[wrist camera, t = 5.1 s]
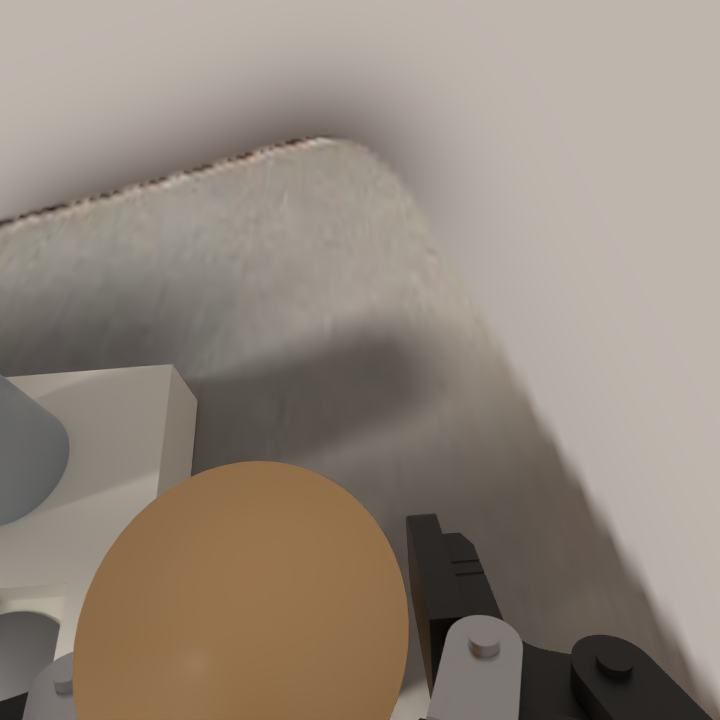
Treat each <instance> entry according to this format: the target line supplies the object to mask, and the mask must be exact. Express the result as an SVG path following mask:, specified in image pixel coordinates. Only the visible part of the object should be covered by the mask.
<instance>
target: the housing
mask: <svg viewBox="0 0 720 720" xmlns="http://www.w3.org/2000/svg"><path fill="white" fill-rule="evenodd" d="M197 403H198V401H197V399H196V398H195V396H194V395H193V393H192V392H191V390H190V389H189V388H188V386H187V385H186V383H185V382H184V380H183V379H182V377H181V376H180V374H179V373H178V371H177V370H176V369H175V367H174V366H173V364H166V365H153V366H141V367H128V368H115V369H103V370H90V371H78V372H65V373H52V374H40V375H27V376H15V377H3V376H2V375H1V374H0V701H2V700H5V699H8V698H11V697H14V696H17V695H20V694H23V693H26V692H28V691H29V689H30V686H31V684H32V683H33V681H34V679H35V678H36V677H37V675H38V674H39V673H40V672H41V671H42V670H43V669H44V668H46V667H47V666H48V665H49V664H51V663H52V662H53V661H55V660H56V659H58V658H60V657H62V656H64V655H66V654H68V653H70V652H73V648H74V640H75V635H76V630H77V624H78V619H79V616H80V613H81V609H82V606H83V603H84V600H85V596H86V594H87V591H88V589H89V587H90V584H91V582H92V580H93V577H94V575H95V573H96V571H97V569H98V568H99V566H100V564H101V562H102V560H103V559H104V557H105V555H106V553H107V552H108V550H109V549H110V547H111V546H112V545H113V543H114V542H115V540H116V539H117V538H118V536H119V535H120V533H121V532H122V531H123V530H124V529H125V528H126V527H127V525H128V524H129V523H130V522H131V521H132V520H133V519H134V517H135V516H137V515H138V514H139V513H140V512H141V511H142V510H143V509H144V508H145V507H146V506H147V505H148V504H150V503H151V502H152V501H153V500H155V499H156V498H157V497H159V496H160V495H161V494H163V493H164V492H165V491H167V490H168V489H170V488H172V487H173V486H175V485H177V484H178V483H180V482H182V481H183V480H185V479H187V478H190V477H191V471H192V459H193V448H194V437H195V425H196V414H197Z"/></svg>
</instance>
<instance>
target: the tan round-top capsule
mask: <svg viewBox="0 0 720 720" xmlns="http://www.w3.org/2000/svg"><path fill="white" fill-rule="evenodd" d="M408 640H409V617H408V606H407V597H406V592H405V588H404V583H403V578H402V574H401V572H400V569H399V566H398V563H397V560H396V557H395V554H394V552H393V550H392V548H391V546H390V544H389V542H388V540H387V538H386V536H385V534H384V533H383V531H382V530H381V528H380V527H379V525H378V524H377V522H376V521H375V519H374V518H373V517H372V516H371V514H370V513H369V512H368V511H367V510H366V509H365V507H364V506H363V505H362V504H361V503H360V502H359V501H358V500H357V499H356V498H354V497H353V496H352V495H351V494H350V493H349V492H348V491H347V490H345V489H344V488H342V487H341V486H339V485H338V484H336V483H335V482H333V481H332V480H330V479H328V478H326V477H324V476H322V475H320V474H318V473H316V472H314V471H311V470H308V469H305V468H302V467H299V466H296V465H291V464H286V463H281V462H271V461H247V462H238V463H232V464H227V465H222V466H219V467H216V468H212V469H209V470H206V471H203V472H201V473H199V474H196V475H194V476H192V477H190V478H187V479H185V480H183V481H182V482H180V483H178V484H177V485H175V486H173V487H172V488H170V489H168V490H167V491H165V492H164V493H163V494H161V495H160V496H159V497H157V498H156V499H155V500H153V501H152V502H151V503H150V504H148V505H147V506H146V507H145V508H144V509H143V510H142V511H141V512H140V513H139V514H138V515H137V516H135V517H134V519H133V520H132V521H131V522H130V523H129V524H128V525H127V527H126V528H125V529H124V530H123V531H122V532H121V533H120V535H119V536H118V538H117V539H116V540H115V542H114V543H113V545H112V546H111V547H110V549H109V550H108V552H107V553H106V555H105V557H104V559H103V560H102V562H101V564H100V566H99V568H98V569H97V571H96V573H95V575H94V577H93V580H92V582H91V584H90V587H89V589H88V591H87V594H86V596H85V600H84V603H83V606H82V609H81V613H80V616H79V619H78V624H77V630H76V635H75V640H74V648H73V661H72V681H73V696H74V702H75V708H76V714H77V719H78V720H389V719H390V717H391V714H392V712H393V709H394V707H395V704H396V702H397V699H398V696H399V692H400V688H401V684H402V681H403V677H404V673H405V667H406V660H407V653H408Z"/></svg>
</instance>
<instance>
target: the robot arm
mask: <svg viewBox="0 0 720 720" xmlns="http://www.w3.org/2000/svg"><path fill="white" fill-rule="evenodd" d="M406 527H407V545H408V562H409V577H410V586H411V594H412V600H413V606H414V611H415V617H416V622H417V628H418V633H419V639H420V644H421V650H422V655H423V661H424V666H425V672H426V677H427V683H428V688H429V694H430V699H431V702H430V706H429V710H428V714H427V717H426V719H422V718H420V719H419V720H713V719H712V718H711V717H710V716H709V715H708V714H706V713H705V712H704V711H703V710H702V709H701V708H700V707H699V706H698V705H697V704H696V703H695V702H694V701H693V700H692V699H691V698H690V697H689V696H688V695H687V694H686V693H685V692H684V691H683V690H682V689H681V688H680V687H679V686H678V685H677V684H676V683H675V682H674V681H673V680H672V679H671V678H670V677H669V676H668V675H667V674H666V673H665V672H664V671H663V670H662V669H661V668H660V667H659V666H658V665H657V664H656V663H655V662H654V661H653V660H652V659H651V658H650V657H649V656H648V655H647V654H646V653H645V652H644V651H643V650H641V649H640V648H638V647H637V646H635V645H634V644H632V643H630V642H628V641H626V640H623V639H620V638H617V637H613V636H608V635H593V636H588V637H585V638H583V639H581V640H579V641H578V642H577V643H576V644H575V645H574V647H573V649H572V652H571V655H570V654H565V653H559V652H554V651H548V650H544V649H539V648H537V647H534V646H531V645H529V644H527V643H525V642H523V641H522V640H521V638H520V636H519V634H518V633H517V632H516V630H515V629H514V628H513V627H511V626H510V625H509V624H507V623H506V622H504V621H503V618H502V616H501V613H500V611H499V608H498V606H497V603H496V601H495V598H494V596H493V593H492V591H491V588H490V586H489V583H488V581H487V578H486V575H484V570H483V568H482V565H481V563H480V562H479V558H478V555H477V553H476V550H475V548H474V545H473V544H472V543H471V542H470V541H469V540H467V539H466V538H465V537H464V536H463V535H462V534H461V533H449V534H442V532H441V528H440V525H439V522H438V519H437V516H436V514H425V515H413V516H406ZM72 661H73V652H70V653H68V654H66V655H64V656H62V657H60V658H58V659H56V660H55V661H53V662H52V663H51V664H49V665H48V666H47V667H46V668H44V669H43V670H42V671H41V672H40V673H39V674H38V675H37V677H36V678H35V679H34V681H33V683H32V684H31V686H30V689H29V691H28V692H26V693H23V694H20V695H17V696H14V697H11V698H8V699H5V700H2V701H0V720H78V719H77V714H76V708H75V702H74V696H73V681H72Z"/></svg>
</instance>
